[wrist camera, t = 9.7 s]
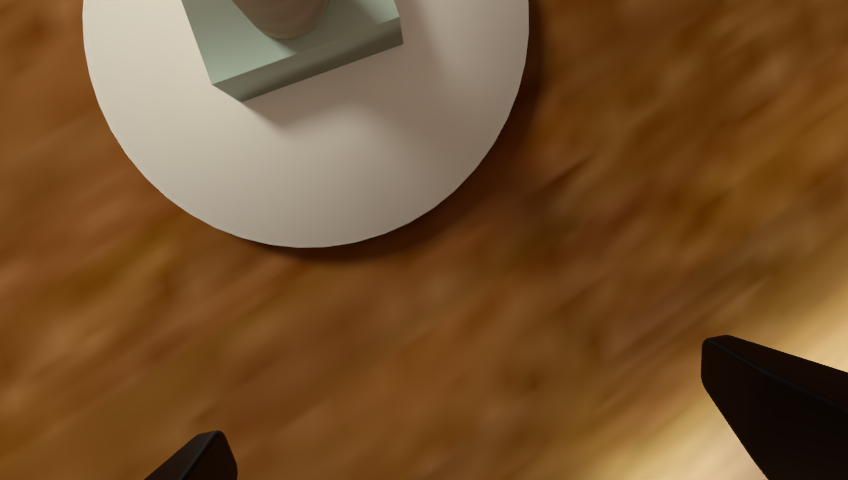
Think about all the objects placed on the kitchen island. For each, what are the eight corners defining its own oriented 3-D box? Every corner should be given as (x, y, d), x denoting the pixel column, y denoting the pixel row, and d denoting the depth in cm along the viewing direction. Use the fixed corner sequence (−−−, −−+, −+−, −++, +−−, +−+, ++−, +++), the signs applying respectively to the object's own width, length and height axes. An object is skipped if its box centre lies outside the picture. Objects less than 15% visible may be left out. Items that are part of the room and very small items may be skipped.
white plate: (537, 226, 20) (546, 227, 19) (133, 263, 21) (110, 266, 19) (503, -198, 20) (509, -233, 18) (84, -154, 20) (56, -184, 18)
